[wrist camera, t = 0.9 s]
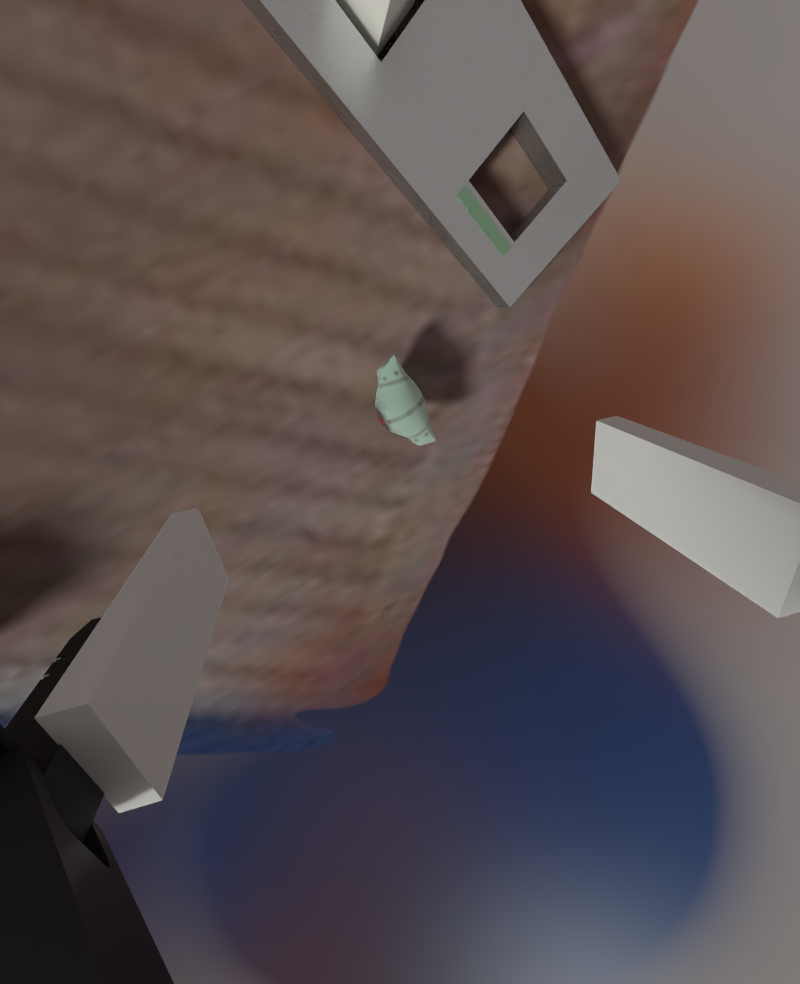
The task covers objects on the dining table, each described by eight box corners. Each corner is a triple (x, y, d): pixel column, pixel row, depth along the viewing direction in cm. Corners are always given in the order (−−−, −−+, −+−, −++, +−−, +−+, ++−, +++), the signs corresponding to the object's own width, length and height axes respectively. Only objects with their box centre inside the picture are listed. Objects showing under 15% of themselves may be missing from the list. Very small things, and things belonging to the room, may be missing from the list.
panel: (233, -10, 24) (225, -44, 22) (360, -220, 22) (366, -284, 20) (497, 307, 35) (511, 307, 33) (600, 189, 33) (623, 180, 31)
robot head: (428, 422, 39) (450, 444, 33) (391, 443, 39) (406, 468, 33) (391, 344, 35) (407, 353, 29) (350, 368, 35) (358, 381, 29)
